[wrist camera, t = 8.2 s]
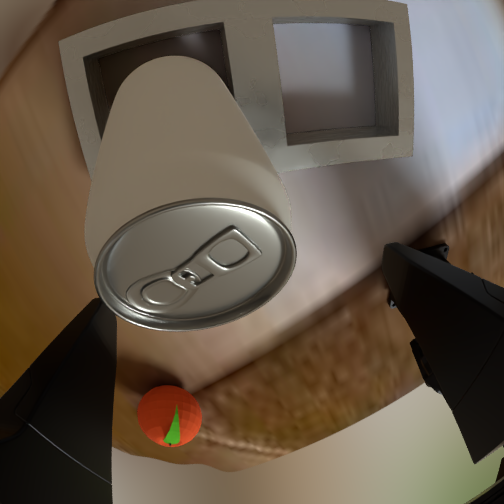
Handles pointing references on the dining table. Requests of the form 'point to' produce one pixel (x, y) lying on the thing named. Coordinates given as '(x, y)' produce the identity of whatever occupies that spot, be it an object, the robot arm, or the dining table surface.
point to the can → (185, 204)
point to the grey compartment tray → (259, 73)
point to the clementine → (169, 415)
